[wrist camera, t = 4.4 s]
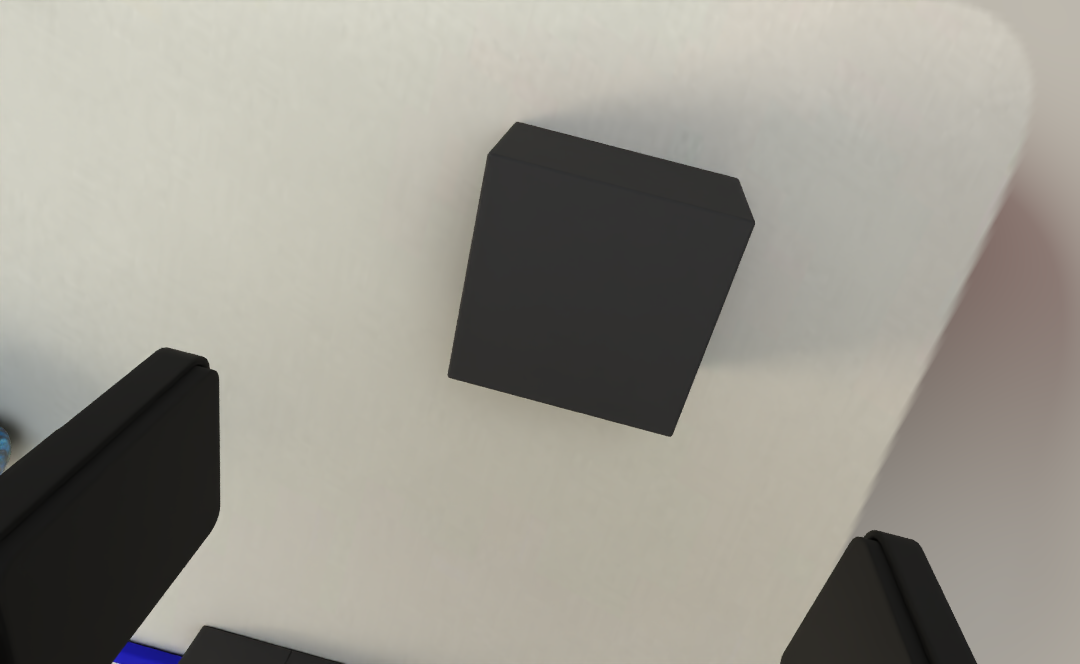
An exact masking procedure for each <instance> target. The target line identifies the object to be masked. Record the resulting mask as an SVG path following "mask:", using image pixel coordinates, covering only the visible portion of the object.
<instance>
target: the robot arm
mask: <svg viewBox="0 0 1080 664" xmlns="http://www.w3.org/2000/svg"><path fill="white" fill-rule="evenodd" d="M219 511H220V424H219V375H218V373H217V371H215V370H212V369H210V367H209V362H208V360H207V359H206V358H204V357H202V356H198V355H195V354H191V353H187V352H183V351H179V350H175V349H171V348H167V347H166V348H161V349H159V350H157V351H156V352H155V353H153V354H152V355H151V356H150V357H148V358H147V359H146V360H145V361H143V362H142V363H141V364H140V365H138V366H137V367H136V368H135V369H133V370H132V371H131V372H130V373H128V374H127V375H126V376H125V377H123V378H122V379H121V380H120V381H118V382H117V383H116V384H115V385H113V386H112V387H111V388H110V389H108V390H107V391H106V392H105V393H103V394H102V395H101V396H100V397H98V398H97V399H96V400H95V401H93V402H92V403H91V404H90V405H89V406H87V407H86V408H85V409H84V410H82V411H81V412H80V413H79V414H77V415H76V416H75V417H74V418H72V419H71V420H70V421H69V422H67V423H66V424H65V425H64V426H62V427H61V428H59V429H58V430H56V431H55V432H54V433H52V434H51V435H50V436H49V437H47V438H46V439H45V440H44V441H42V442H41V443H40V444H39V445H37V446H36V447H35V448H34V449H32V450H31V451H30V452H29V453H27V454H26V455H25V456H24V457H22V458H21V459H20V460H19V461H17V462H16V463H15V464H14V465H12V466H11V467H10V468H9V469H7V470H6V471H5V472H4V473H2V474H1V475H0V664H112V662H113V661H114V660H115V658H116V657H117V656H118V654H119V653H120V652H121V650H122V649H123V648H124V646H125V645H126V644H127V642H128V641H129V640H130V638H131V637H132V636H133V634H134V633H135V632H136V631H137V629H138V628H139V627H140V625H141V624H142V623H143V621H144V620H145V619H146V617H147V616H148V615H149V613H150V612H151V611H152V609H153V608H154V607H155V605H156V604H157V603H158V601H159V600H160V599H161V597H162V596H163V595H164V593H165V592H166V591H167V589H168V588H169V587H170V585H171V584H172V583H173V582H174V580H175V579H176V578H177V576H178V575H179V574H180V572H181V571H182V570H183V568H184V567H185V566H186V564H187V563H188V562H189V560H190V559H191V558H192V556H193V555H194V554H195V552H196V551H197V550H198V548H199V547H200V546H201V544H202V543H203V542H204V540H205V539H206V538H207V537H208V535H209V534H210V532H211V531H212V529H213V528H214V526H215V524H216V521H217V518H218V516H219ZM780 664H977V663H976V661H975V658H974V656H973V654H972V652H971V650H970V648H969V646H968V644H967V642H966V640H965V638H964V635H963V633H962V631H961V629H960V627H959V625H958V623H957V621H956V619H955V617H954V614H953V612H952V610H951V608H950V606H949V604H948V602H947V600H946V598H945V596H944V594H943V591H942V589H941V587H940V585H939V583H938V581H937V579H936V577H935V575H934V573H933V570H932V569H931V566H930V564H929V562H928V560H927V558H926V556H925V554H924V552H923V550H922V548H921V546H920V545H919V543H917V542H916V541H914V540H912V539H908V538H904V537H900V536H896V535H892V534H889V533H885V532H881V531H877V530H872V531H870V532H868V533H867V534H866V535H865V536H864V538H863V537H856V538H854V539H853V540H852V541H851V542H850V544H849V545H848V547H847V549H846V550H845V552H844V554H843V555H842V557H841V559H840V560H839V562H838V564H837V565H836V567H835V569H834V570H833V572H832V574H831V575H830V577H829V579H828V580H827V582H826V584H825V585H824V587H823V588H822V590H821V592H820V593H819V595H818V597H817V598H816V600H815V602H814V603H813V605H812V607H811V608H810V610H809V612H808V613H807V615H806V617H805V618H804V620H803V622H802V623H801V625H800V627H799V628H798V630H797V632H796V633H795V635H794V636H793V638H792V640H791V641H790V643H789V645H788V646H787V648H786V650H785V651H784V653H783V656H782V658H781V662H780Z"/></svg>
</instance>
